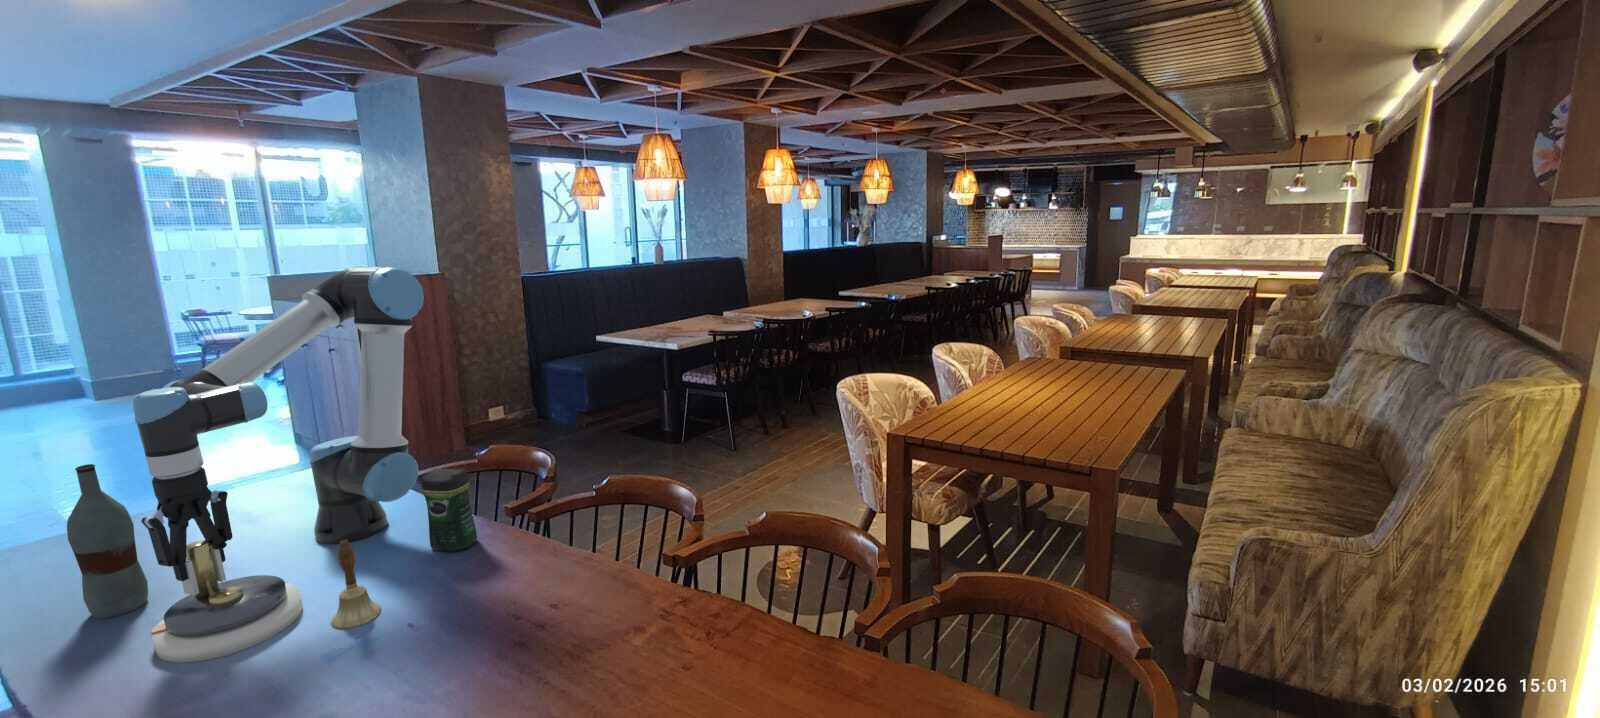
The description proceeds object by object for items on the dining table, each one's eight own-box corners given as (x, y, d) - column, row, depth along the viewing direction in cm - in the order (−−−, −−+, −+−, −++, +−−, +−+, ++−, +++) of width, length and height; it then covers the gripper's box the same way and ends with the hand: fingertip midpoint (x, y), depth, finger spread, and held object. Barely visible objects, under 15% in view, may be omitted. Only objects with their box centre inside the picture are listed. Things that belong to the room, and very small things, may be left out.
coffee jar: (483, 538, 169) (473, 464, 165) (462, 554, 161) (451, 477, 157) (447, 536, 170) (436, 462, 167) (424, 551, 163) (413, 475, 159)
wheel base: (304, 584, 150) (301, 568, 149) (300, 634, 132) (296, 617, 131) (168, 618, 138) (164, 601, 138) (142, 678, 120) (138, 660, 119)
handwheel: (307, 595, 138) (296, 538, 136) (199, 646, 123) (184, 583, 120) (253, 577, 146) (242, 523, 143) (145, 623, 130) (130, 563, 128)
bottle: (96, 625, 136) (58, 478, 130) (81, 612, 141) (43, 470, 135) (158, 602, 144) (125, 462, 138) (142, 590, 149) (109, 455, 143)
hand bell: (391, 608, 140) (379, 533, 136) (353, 632, 132) (339, 553, 129) (360, 602, 142) (347, 528, 139) (320, 625, 135) (306, 547, 131)
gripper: (211, 454, 140) (236, 562, 145) (108, 488, 124) (140, 609, 129) (240, 456, 138) (264, 566, 143) (138, 492, 122) (170, 614, 127)
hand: (205, 586), depth 136 cm, fingers open, 4 cm apart
